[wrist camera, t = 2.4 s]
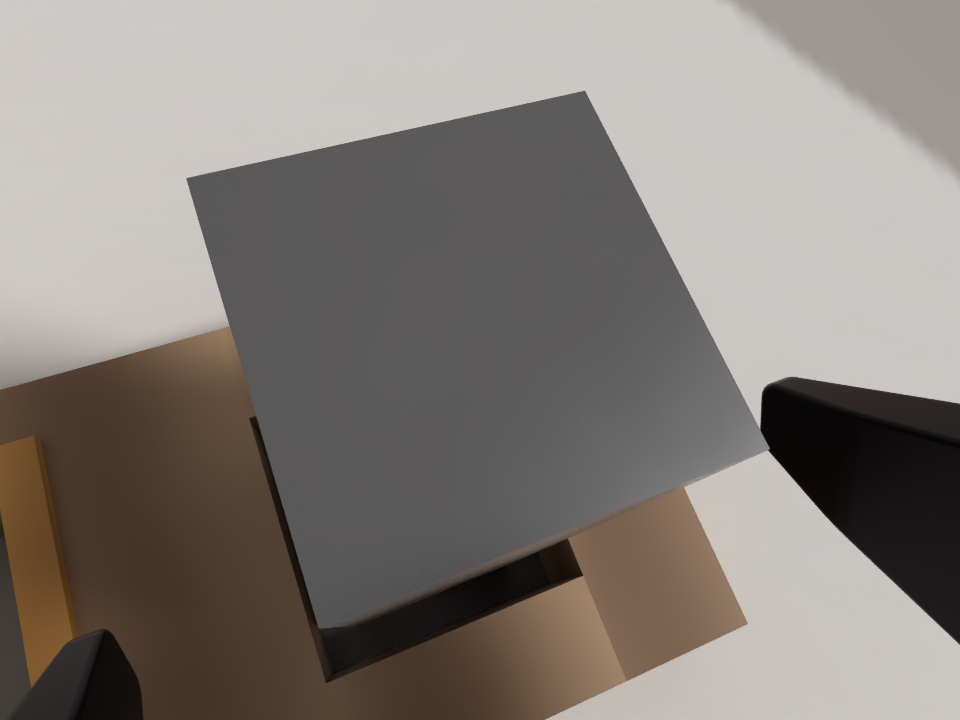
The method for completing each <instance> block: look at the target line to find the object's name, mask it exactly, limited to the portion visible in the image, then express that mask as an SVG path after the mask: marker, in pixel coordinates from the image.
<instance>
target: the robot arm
mask: <svg viewBox="0 0 960 720" xmlns="http://www.w3.org/2000/svg"><path fill="white" fill-rule="evenodd" d="M760 431H761V433H762V435H763V437H764V438H765V440H766V442H767V444H768V446H769V448H770V449H769V450H768V451H769V452H770V453H771V454H772V455H773V456H774V458H775V459H776V460H777V461H778V462H779V463H780V464H781V466H782V467H783V468H784V469H785V470H786V471H787V473H788V474H789V475H790V476H791V477H792V478H793V479H794V481H795V482H796V483H797V484H798V485H799V486H800V487H801V489H802V490H803V491H804V492H805V493H806V494H807V495H808V497H809V498H810V499H811V500H812V501H813V502H814V503H815V505H816V506H817V507H818V508H819V509H820V510H821V511H822V513H823V514H824V515H825V516H826V517H827V518H828V519H829V520H830V521H831V522H832V523H833V525H834V526H835V527H836V528H837V529H838V530H839V531H840V532H841V533H842V534H843V535H844V536H845V537H846V538H848V539H849V540H850V541H851V542H852V543H853V544H854V545H855V546H856V547H857V548H858V549H859V550H860V551H861V552H862V553H863V554H864V555H865V556H867V557H868V558H869V559H870V560H871V561H872V562H873V563H874V564H875V565H876V566H877V567H878V568H879V569H880V570H881V571H882V572H883V573H884V574H886V575H887V576H888V577H889V578H890V579H891V580H892V581H893V582H894V583H895V584H896V585H897V586H898V587H899V588H900V589H901V590H902V591H904V592H905V593H906V594H907V595H908V596H909V597H910V598H911V599H912V600H913V601H914V602H915V603H916V604H917V605H918V606H919V607H920V608H921V609H923V610H924V611H925V612H926V613H927V614H928V615H929V616H930V617H931V618H932V619H933V620H934V621H935V622H936V623H937V624H938V625H939V626H941V627H942V628H943V629H944V630H945V631H946V632H947V633H948V634H949V635H950V636H951V637H952V638H953V639H954V640H955V641H956V642H957V643H958V644H960V404H959V403H952V402H946V401H940V400H934V399H928V398H921V397H915V396H909V395H903V394H897V393H890V392H884V391H878V390H872V389H866V388H860V387H853V386H847V385H841V384H835V383H829V382H822V381H816V380H810V379H804V378H798V377H787V378H784V379H781V380H778V381H776V382H773V383H770V384H768V385H767V386H766V387H765V388H764V390H763V392H762V401H761V425H760ZM7 720H143V706H142V694H141V688H140V684H139V680H138V678H137V675H136V673H135V671H134V670H133V668H132V666H131V664H130V663H129V661H128V659H127V657H126V656H125V654H124V652H123V650H122V649H121V647H120V645H119V643H118V642H117V640H116V638H115V637H114V635H113V634H112V633H111V632H110V631H109V630H106V629H99V630H96V631H93V632H91V633H88V634H85V635H82V636H80V637H77V638H74V639H72V640H70V641H68V642H67V643H66V644H65V645H64V646H63V647H62V648H61V650H60V651H59V652H58V653H57V655H56V656H55V657H54V659H53V660H52V661H51V663H50V664H49V665H48V667H47V668H46V669H45V671H44V672H43V673H42V674H41V676H40V677H39V678H38V680H37V681H36V682H35V684H34V685H33V686H32V688H31V689H30V690H29V692H28V693H27V694H26V695H25V697H24V698H23V699H22V701H21V702H20V703H19V705H18V706H17V707H16V709H15V710H14V711H13V712H12V714H11V715H10V716H9V718H8V719H7Z"/></svg>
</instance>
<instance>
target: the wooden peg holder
mask: <svg viewBox="0 0 960 720" xmlns="http://www.w3.org/2000/svg"><path fill="white" fill-rule="evenodd" d="M4 536H5V540H6V546H7V551H8V557H9V563H10V569H11V575H12V580H13V586H14V592H15V598H16V604H17V610H18V615H19V621H20V627H21V633H22V639H23V644H24V650H25V656H26V662H27V668H28V673H29V679H30V685H31V688H32V686H33V685H34V684H35V682H36V681H37V680H38V678H39V677H40V676H41V674H42V673H43V672H44V671H45V669H46V668H47V667H48V665H49V664H50V663H51V661H52V660H53V659H54V657H55V656H56V655H57V653H58V652H59V651H60V650H61V648H62V647H63V646H64V645H65V644H66V643H67V642H68V641H70V640H72V639H74V638H77V637H80V636H82V635H85V634H88V633H91V632H93V631H96V630H99V629H106V630H109V631H110V632H111V633H112V634H113V635H114V637H115V638H116V640H117V642H118V643H119V645H120V647H121V649H122V650H123V652H124V654H125V656H126V657H127V659H128V661H129V663H130V664H131V666H132V668H133V670H134V671H135V673H136V675H137V678H138V680H139V684H140V688H141V694H142V706H143V720H545V719H547V718H549V717H551V716H553V715H556V714H558V713H560V712H562V711H564V710H566V709H568V708H570V707H573V706H575V705H577V704H579V703H581V702H583V701H585V700H587V699H589V698H592V697H594V696H596V695H598V694H600V693H602V692H604V691H606V690H609V689H611V688H613V687H615V686H617V685H619V684H621V683H623V682H626V681H628V680H630V679H632V678H634V677H636V676H638V675H640V674H643V673H645V672H647V671H649V670H651V669H653V668H655V667H657V666H659V665H662V664H664V663H666V662H668V661H670V660H672V659H674V658H676V657H679V656H681V655H683V654H685V653H687V652H689V651H691V650H693V649H696V648H698V647H700V646H702V645H704V644H706V643H708V642H710V641H712V640H715V639H717V638H719V637H721V636H723V635H725V634H727V633H729V632H732V631H734V630H736V629H738V628H740V627H742V626H744V625H746V624H748V623H747V621H746V619H745V617H744V615H743V612H742V610H741V608H740V606H739V604H738V602H737V600H736V598H735V595H734V593H733V591H732V589H731V587H730V585H729V583H728V581H727V578H726V576H725V574H724V572H723V570H722V568H721V566H720V564H719V561H718V559H717V557H716V555H715V553H714V551H713V549H712V547H711V544H710V542H709V540H708V538H707V536H706V534H705V532H704V530H703V527H702V525H701V523H700V521H699V519H698V517H697V515H696V513H695V510H694V508H693V506H692V504H691V502H690V500H689V498H688V496H687V493H686V491H685V489H684V487H683V488H681V489H679V490H676V491H674V492H672V493H670V494H667V495H665V496H663V497H660V498H658V499H656V500H654V501H651V502H649V503H647V504H645V505H642V506H640V507H638V508H636V509H633V510H631V511H629V512H627V513H624V514H622V515H620V516H617V517H615V518H613V519H611V520H608V521H606V522H604V523H602V524H599V525H597V526H595V527H593V528H590V529H588V530H586V531H583V532H581V533H579V534H577V535H574V536H572V537H570V538H568V539H565V540H563V541H561V542H559V543H556V544H554V545H552V546H550V547H547V548H545V549H543V550H540V551H538V554H539V557H540V559H541V562H542V564H543V567H544V569H545V572H546V574H547V577H548V579H549V582H550V584H547V585H545V586H542V587H540V588H538V589H535V590H533V591H530V592H528V593H526V594H523V595H521V596H518V597H516V598H514V599H511V600H509V601H506V602H504V603H502V604H499V605H497V606H494V607H492V608H490V609H487V610H485V611H482V612H480V613H478V614H475V615H473V616H470V617H468V618H466V619H463V620H461V621H458V622H456V623H454V624H451V625H449V626H447V627H444V628H442V629H439V630H437V631H435V632H432V633H430V634H427V635H425V636H423V637H420V638H418V639H415V640H413V641H411V642H408V643H406V644H403V645H401V646H399V647H396V648H394V649H391V650H389V651H387V652H384V653H382V654H379V655H377V656H375V657H372V658H370V659H367V660H365V661H363V662H360V663H358V664H355V665H353V666H351V667H348V668H346V669H343V670H341V671H339V672H336V673H334V671H333V668H332V664H331V661H330V657H329V654H328V651H327V647H326V644H325V640H324V637H323V634H322V630H321V629H319V628H318V624H317V621H316V617H315V614H314V611H313V607H312V604H311V600H310V597H309V594H308V590H307V587H306V583H305V580H304V577H303V573H302V570H301V566H300V563H299V560H298V556H297V553H296V549H295V546H294V543H293V539H292V536H291V532H290V529H289V526H288V522H287V519H286V515H285V512H284V509H283V505H282V502H281V498H280V495H279V492H278V488H277V485H276V481H275V478H274V475H273V471H272V468H271V464H270V461H269V458H268V454H267V451H266V447H265V444H264V441H263V437H262V434H261V430H260V427H259V424H258V420H257V417H256V413H255V410H254V407H253V403H252V400H251V396H250V393H249V390H248V386H247V383H246V379H245V376H244V373H243V369H242V366H241V362H240V359H239V356H238V352H237V349H236V345H235V342H234V339H233V335H232V332H231V328H230V327H227V328H223V329H220V330H216V331H212V332H209V333H205V334H202V335H198V336H194V337H191V338H187V339H183V340H180V341H176V342H173V343H169V344H165V345H162V346H158V347H155V348H151V349H147V350H144V351H140V352H136V353H133V354H129V355H126V356H122V357H118V358H115V359H111V360H108V361H104V362H100V363H97V364H93V365H89V366H86V367H82V368H79V369H75V370H71V371H68V372H64V373H61V374H57V375H53V376H50V377H46V378H42V379H39V380H35V381H32V382H28V383H24V384H21V385H17V386H13V387H10V388H6V389H3V390H0V538H1V537H4Z"/></svg>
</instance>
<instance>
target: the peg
mask: <svg viewBox="0 0 960 720" xmlns="http://www.w3.org/2000/svg"><path fill="white" fill-rule="evenodd" d="M186 179H187V182H188V186H189V189H190V192H191V196H192V199H193V203H194V206H195V209H196V213H197V216H198V220H199V223H200V226H201V230H202V233H203V237H204V240H205V243H206V247H207V250H208V254H209V257H210V260H211V264H212V267H213V271H214V274H215V277H216V281H217V284H218V288H219V291H220V294H221V298H222V301H223V305H224V308H225V311H226V315H227V318H228V322H229V325H230V328H231V332H232V335H233V339H234V342H235V345H236V349H237V352H238V356H239V359H240V362H241V366H242V369H243V373H244V376H245V379H246V383H247V386H248V390H249V393H250V396H251V400H252V403H253V407H254V410H255V413H256V417H257V420H258V424H259V427H260V430H261V434H262V437H263V441H264V444H265V447H266V451H267V454H268V458H269V461H270V464H271V468H272V471H273V475H274V478H275V481H276V485H277V488H278V492H279V495H280V498H281V502H282V505H283V509H284V512H285V515H286V519H287V522H288V526H289V529H290V532H291V536H292V539H293V543H294V546H295V549H296V553H297V556H298V560H299V563H300V566H301V570H302V573H303V577H304V580H305V583H306V587H307V590H308V594H309V597H310V600H311V604H312V607H313V611H314V614H315V617H316V621H317V624H318V628H319V629H322V628H334V627H347V626H357V625H360V624H362V623H365V622H367V621H370V620H372V619H375V618H377V617H380V616H382V615H385V614H387V613H389V612H392V611H394V610H397V609H399V608H402V607H404V606H407V605H409V604H412V603H414V602H417V601H419V600H422V599H424V598H427V597H429V596H432V595H434V594H437V593H439V592H442V591H444V590H447V589H449V588H452V587H454V586H457V585H459V584H462V583H464V582H466V581H469V580H471V579H474V578H476V577H479V576H481V575H484V574H486V573H489V572H491V571H494V570H496V569H499V568H501V567H504V566H506V565H509V564H511V563H513V562H516V561H518V560H520V559H522V558H525V557H527V556H529V555H531V554H534V553H536V552H538V551H540V550H543V549H545V548H547V547H550V546H552V545H554V544H556V543H559V542H561V541H563V540H565V539H568V538H570V537H572V536H574V535H577V534H579V533H581V532H583V531H586V530H588V529H590V528H593V527H595V526H597V525H599V524H602V523H604V522H606V521H608V520H611V519H613V518H615V517H617V516H620V515H622V514H624V513H627V512H629V511H631V510H633V509H636V508H638V507H640V506H642V505H645V504H647V503H649V502H651V501H654V500H656V499H658V498H660V497H663V496H665V495H667V494H670V493H672V492H674V491H676V490H679V489H681V488H683V487H685V486H688V485H690V484H692V483H694V482H697V481H699V480H701V479H703V478H706V477H708V476H710V475H713V474H715V473H717V472H719V471H722V470H724V469H726V468H728V467H731V466H733V465H735V464H737V463H740V462H742V461H744V460H747V459H749V458H751V457H753V456H756V455H758V454H760V453H762V452H765V451H767V450H769V449H770V448H769V446H768V444H767V442H766V440H765V438H764V437H763V435H762V433H761V431H760V429H759V427H758V425H757V423H756V421H755V419H754V417H753V415H752V413H751V411H750V409H749V407H748V406H747V404H746V402H745V400H744V398H743V396H742V394H741V392H740V390H739V388H738V386H737V384H736V382H735V380H734V378H733V377H732V375H731V373H730V371H729V369H728V367H727V365H726V363H725V361H724V359H723V357H722V355H721V353H720V351H719V349H718V348H717V346H716V344H715V342H714V340H713V338H712V336H711V334H710V332H709V330H708V328H707V326H706V324H705V322H704V320H703V318H702V317H701V315H700V313H699V311H698V309H697V307H696V305H695V303H694V301H693V299H692V297H691V295H690V293H689V291H688V289H687V288H686V286H685V284H684V282H683V280H682V278H681V276H680V274H679V272H678V270H677V268H676V266H675V264H674V262H673V260H672V258H671V257H670V255H669V253H668V251H667V249H666V247H665V245H664V243H663V241H662V239H661V237H660V235H659V233H658V231H657V229H656V228H655V226H654V224H653V222H652V220H651V218H650V216H649V214H648V212H647V210H646V208H645V206H644V204H643V202H642V200H641V199H640V197H639V195H638V193H637V191H636V189H635V187H634V185H633V183H632V181H631V179H630V177H629V175H628V173H627V171H626V169H625V168H624V166H623V164H622V162H621V160H620V158H619V156H618V154H617V152H616V150H615V148H614V146H613V144H612V142H611V140H610V139H609V137H608V135H607V133H606V131H605V129H604V127H603V125H602V123H601V121H600V119H599V117H598V115H597V113H596V111H595V110H594V108H593V106H592V104H591V102H590V100H589V98H588V96H587V94H586V92H585V91H582V92H577V93H573V94H568V95H564V96H559V97H555V98H550V99H546V100H541V101H536V102H532V103H527V104H523V105H518V106H514V107H509V108H505V109H500V110H495V111H491V112H486V113H482V114H477V115H473V116H468V117H464V118H459V119H454V120H450V121H445V122H441V123H436V124H432V125H427V126H422V127H418V128H413V129H409V130H404V131H400V132H395V133H391V134H386V135H381V136H377V137H372V138H368V139H363V140H359V141H354V142H350V143H345V144H340V145H336V146H331V147H327V148H322V149H318V150H313V151H308V152H304V153H299V154H295V155H290V156H286V157H281V158H277V159H272V160H267V161H263V162H258V163H254V164H249V165H245V166H240V167H236V168H231V169H226V170H222V171H217V172H213V173H208V174H204V175H199V176H195V177H190V178H186Z"/></svg>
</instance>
